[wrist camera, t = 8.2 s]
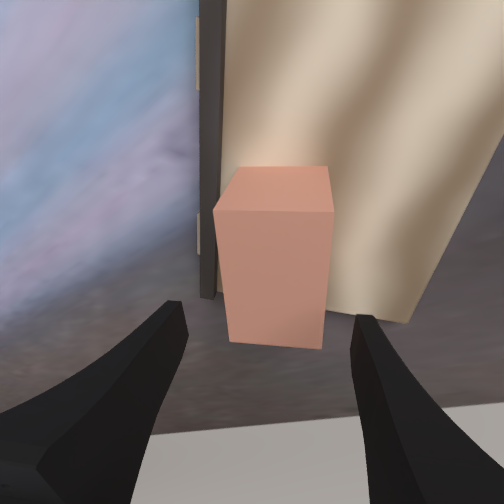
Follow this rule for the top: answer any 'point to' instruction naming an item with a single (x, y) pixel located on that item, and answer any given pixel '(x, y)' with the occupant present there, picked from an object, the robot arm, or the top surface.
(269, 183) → the carton
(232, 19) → the shelf board
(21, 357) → the top surface
